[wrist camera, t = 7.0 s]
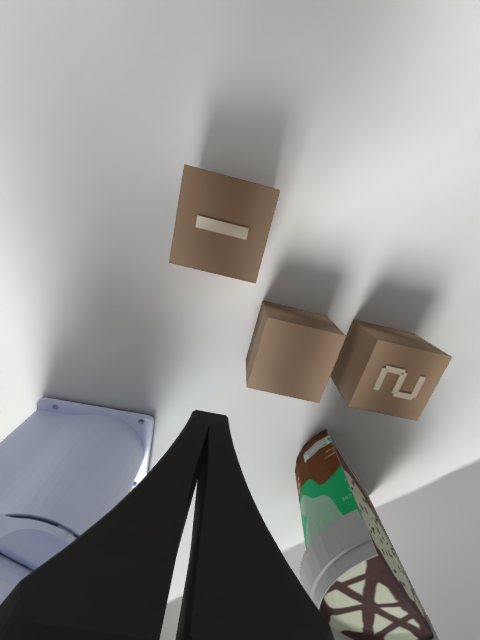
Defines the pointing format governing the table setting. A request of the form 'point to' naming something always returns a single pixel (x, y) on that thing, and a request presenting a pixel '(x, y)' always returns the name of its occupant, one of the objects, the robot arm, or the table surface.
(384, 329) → the block two
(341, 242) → the table surface
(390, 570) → the food container
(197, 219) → the block one
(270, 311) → the plain block
